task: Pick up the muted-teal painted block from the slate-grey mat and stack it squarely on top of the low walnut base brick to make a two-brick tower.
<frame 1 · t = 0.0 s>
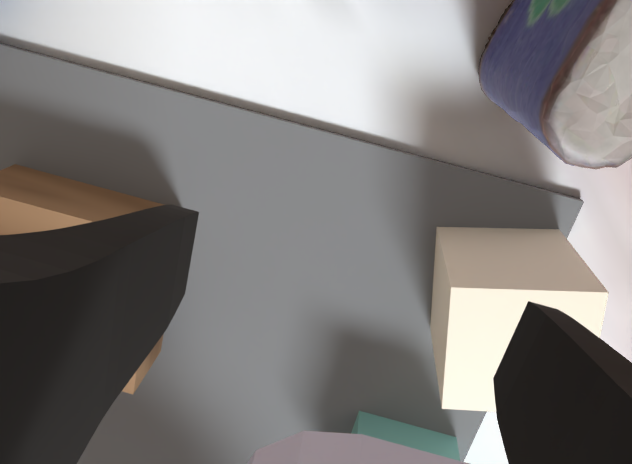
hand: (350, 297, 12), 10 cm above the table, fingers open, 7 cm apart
cream block: (491, 281, 22), resting on mat
teal block: (393, 460, 26), resting on mat
walnut base: (91, 263, 24), resting on mat
mat: (222, 335, 25), on the table
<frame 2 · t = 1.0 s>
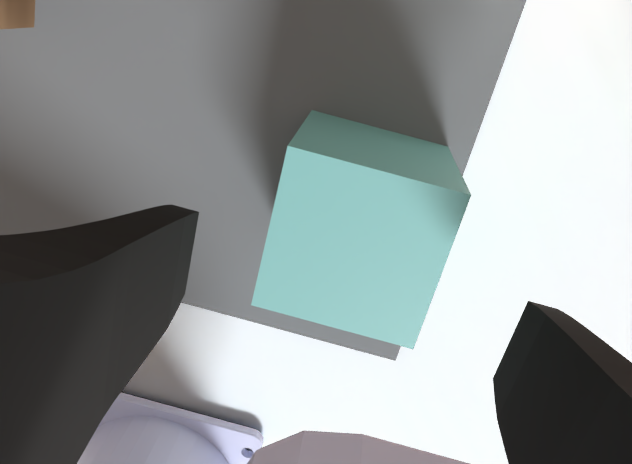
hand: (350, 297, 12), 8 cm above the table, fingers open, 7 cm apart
teal block: (361, 193, 19), resting on mat
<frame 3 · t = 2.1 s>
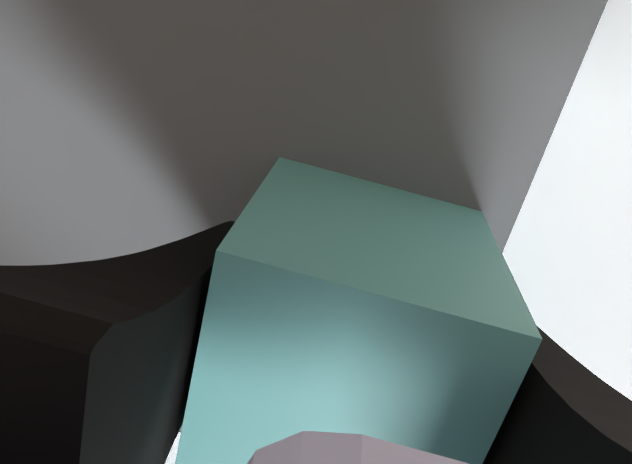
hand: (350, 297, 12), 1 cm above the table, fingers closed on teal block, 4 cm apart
teal block: (353, 274, 13), resting on mat, touching gripper
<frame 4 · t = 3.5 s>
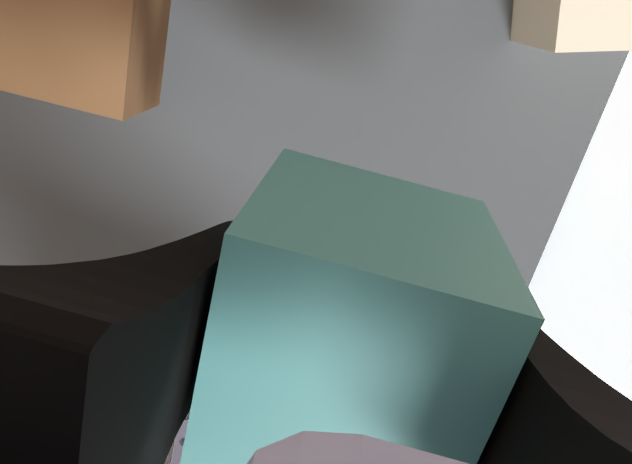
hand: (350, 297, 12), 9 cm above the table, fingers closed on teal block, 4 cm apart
teal block: (356, 264, 13), point 8 cm above the table, touching gripper
mat: (237, 78, 19), on the table
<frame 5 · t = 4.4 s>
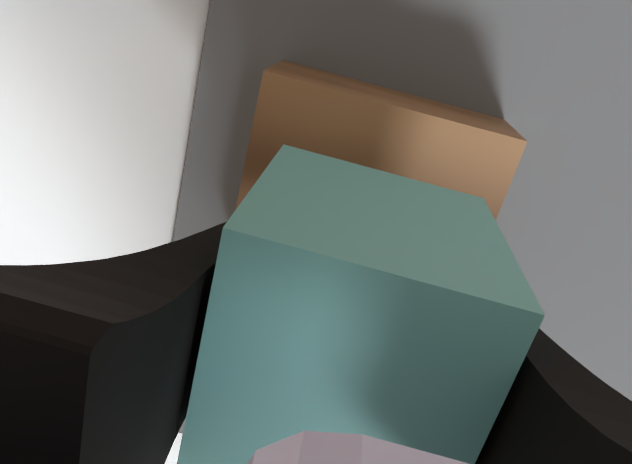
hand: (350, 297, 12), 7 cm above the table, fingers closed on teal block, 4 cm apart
teal block: (356, 261, 13), point 6 cm above the table, touching gripper
walnut base: (362, 194, 18), resting on mat
mat: (514, 289, 19), on the table
when the fingers open (6 cm above the table, at t = 5.1 s): teal block drops 1 cm, resting on walnut base.
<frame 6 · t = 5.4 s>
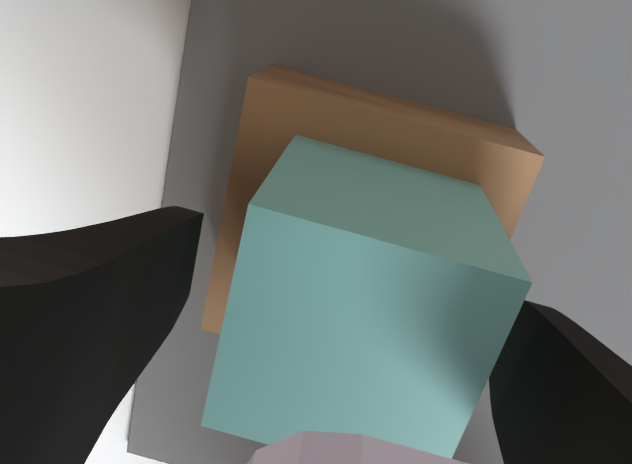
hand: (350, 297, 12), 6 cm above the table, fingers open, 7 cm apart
teal block: (361, 244, 14), point 3 cm above the table, touching walnut base
walnut base: (360, 211, 17), resting on mat
mat: (525, 313, 18), on the table
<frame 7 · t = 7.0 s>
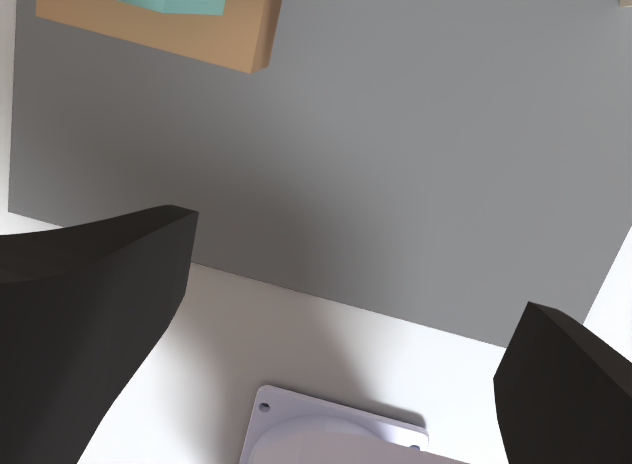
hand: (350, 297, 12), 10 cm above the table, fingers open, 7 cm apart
mat: (346, 41, 20), on the table
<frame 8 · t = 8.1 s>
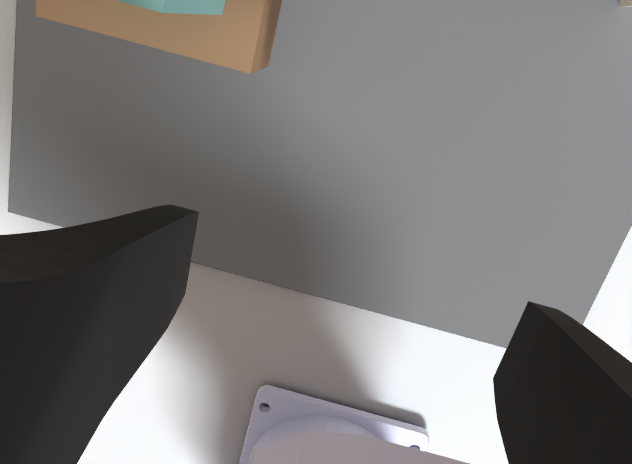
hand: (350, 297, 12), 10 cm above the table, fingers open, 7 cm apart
mat: (346, 41, 20), on the table
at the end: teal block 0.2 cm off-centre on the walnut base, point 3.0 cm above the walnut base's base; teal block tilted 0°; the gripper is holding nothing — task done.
